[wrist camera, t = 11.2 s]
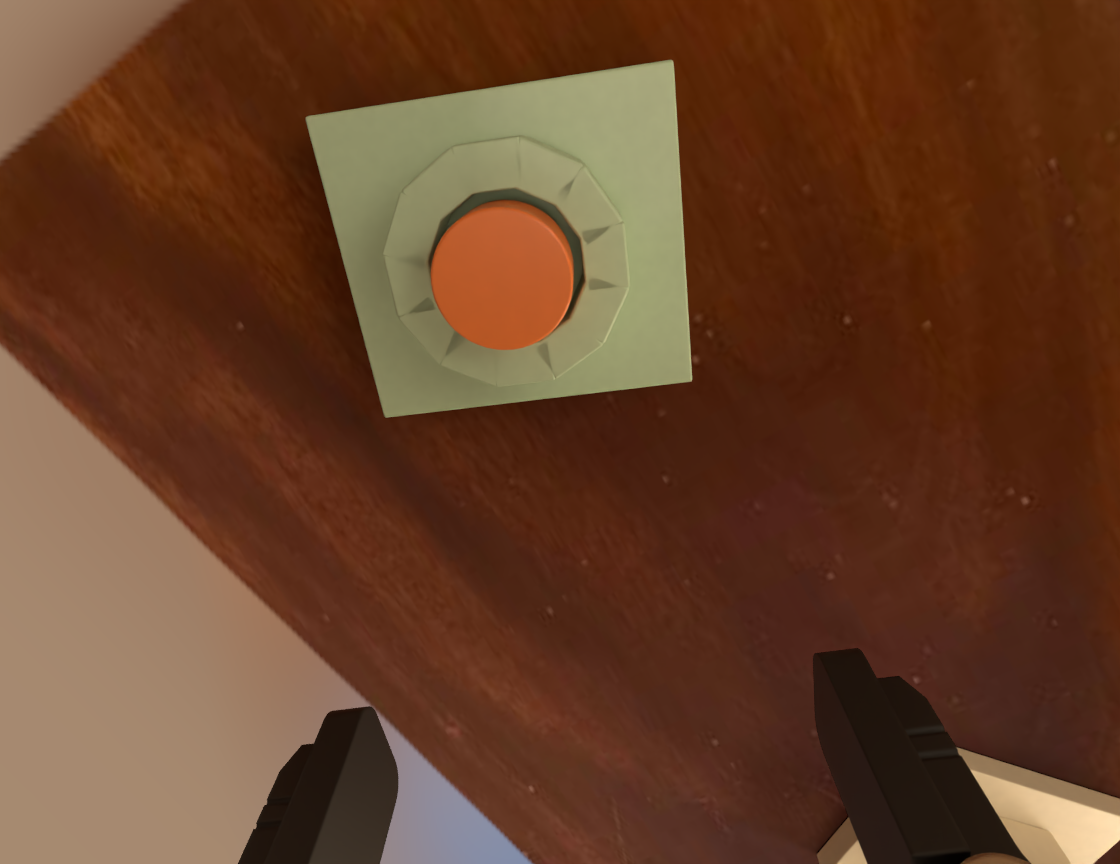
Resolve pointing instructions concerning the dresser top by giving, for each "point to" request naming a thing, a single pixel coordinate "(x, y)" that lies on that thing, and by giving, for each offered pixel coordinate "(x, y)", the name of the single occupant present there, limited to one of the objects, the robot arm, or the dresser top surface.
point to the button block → (531, 177)
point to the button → (503, 275)
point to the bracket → (1024, 816)
